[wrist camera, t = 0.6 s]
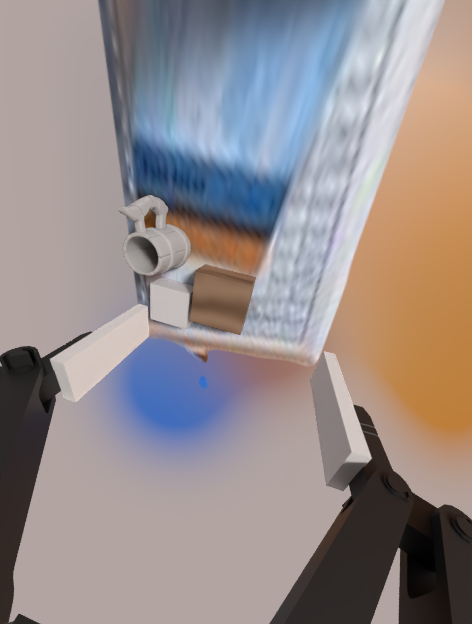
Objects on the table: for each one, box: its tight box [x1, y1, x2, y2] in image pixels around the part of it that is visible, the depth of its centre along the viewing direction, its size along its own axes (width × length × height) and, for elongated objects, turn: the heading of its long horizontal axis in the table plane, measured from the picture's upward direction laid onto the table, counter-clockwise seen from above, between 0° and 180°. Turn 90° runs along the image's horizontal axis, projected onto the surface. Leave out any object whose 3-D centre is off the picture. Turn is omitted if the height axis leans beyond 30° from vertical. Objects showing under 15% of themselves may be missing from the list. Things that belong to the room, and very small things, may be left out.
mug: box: [118, 195, 191, 276], centre depth 32 cm, size 8×12×12 cm, turn 179°
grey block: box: [150, 277, 194, 329], centre depth 42 cm, size 8×8×4 cm
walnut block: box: [190, 264, 256, 335], centre depth 38 cm, size 10×10×5 cm
